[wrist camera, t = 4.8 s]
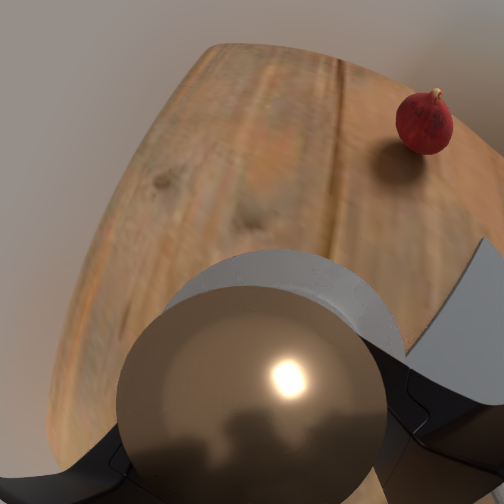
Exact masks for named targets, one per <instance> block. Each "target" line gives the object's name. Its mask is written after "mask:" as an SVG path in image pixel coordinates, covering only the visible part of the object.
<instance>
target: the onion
mask: <svg viewBox="0 0 504 504" xmlns="http://www.w3.org/2000/svg"><path fill="white" fill-rule="evenodd" d="M442 95H443V93H442V92H441V91H440V89H439V88H436V89H432V91H431V92H430V93H417V94H413V95H410V96H409V97H407V98H406V99H405V100H404V101H403V102H402V103H401V105H400V106H399V108H398V110H397V113H396V128H397V131H398V134H399V137H400V138H401V140H402V141H403V142H404V144H405V145H406V146H407V147H408V148H409V149H411V150H412V151H414V152H416V153H419V154H423V155H432V154H436V153H438V152H440V151H441V150H443V149H444V148H445V147H446V146H447V145H448V143H449V141H450V139H451V136H452V133H453V121H452V117H451V114H450V111H449V109H448V107H447V106H446V104H445V103H444V101H443V100H442V98H441V96H442Z"/></svg>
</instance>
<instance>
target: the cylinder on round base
mask: <svg viewBox="0 0 504 504" xmlns="http://www.w3.org/2000/svg"><path fill="white" fill-rule="evenodd" d="M356 333H357V334H358V335H360V336H361V337H363V338H365V339H366V340H368V341H369V342H371V343H372V344H374V345H376V346H377V347H379V348H380V349H382V350H383V351H385V352H386V353H388V354H390V355H391V356H393V357H394V358H396V359H397V360H399V361H401V362H402V363H404V364H405V365H406V357H405V351H404V345H403V342H402V338H401V335H400V332H399V329H398V327H397V325H396V322H395V320H394V318H393V316H392V314H391V312H390V311H389V309H388V308H387V306H386V305H385V303H384V302H383V300H382V299H381V298H380V297H379V296H378V294H377V293H376V292H375V291H374V290H373V289H372V288H371V287H370V286H369V285H368V284H367V283H366V282H365V281H363V280H362V279H361V278H360V277H359V276H357V275H356V274H354V273H353V272H351V271H350V270H348V269H347V268H345V267H344V266H342V265H340V264H338V263H335V262H333V261H331V260H329V259H326V258H323V257H320V256H318V255H315V254H311V253H306V252H301V251H295V250H282V249H276V250H260V251H255V252H249V253H244V254H241V255H238V256H234V257H231V258H228V259H226V260H224V261H221V262H219V263H217V264H215V265H213V266H211V267H209V268H208V269H206V270H204V271H203V272H201V273H200V274H198V275H197V276H196V277H194V278H193V279H192V280H190V281H189V282H188V283H187V284H186V285H185V286H184V287H183V288H182V289H181V290H180V291H179V292H178V293H177V294H176V295H175V296H174V297H173V299H172V300H171V301H170V302H169V304H168V305H167V306H166V308H165V309H164V311H163V313H162V314H161V315H160V316H158V317H157V318H156V319H155V320H154V321H153V322H152V323H151V324H150V325H149V326H148V327H147V328H146V329H145V330H144V331H143V332H142V334H141V335H140V336H139V338H138V339H137V340H136V342H135V343H134V345H133V346H132V348H131V350H130V352H129V354H128V355H127V357H126V360H125V362H124V365H123V368H122V370H121V374H120V378H119V382H118V387H117V396H116V414H117V422H118V428H119V432H120V436H121V439H122V442H123V445H124V448H125V450H126V452H127V455H128V457H129V459H130V461H131V462H132V464H133V466H134V467H135V469H136V471H137V472H138V474H139V475H140V476H141V478H142V479H143V480H144V481H145V483H146V484H147V485H148V486H149V487H150V488H151V489H152V490H153V491H154V492H155V493H156V494H157V495H158V496H159V497H160V498H161V499H163V500H164V501H165V502H167V503H168V504H340V503H342V502H343V501H344V500H345V499H347V498H348V497H349V496H350V495H351V494H352V493H353V492H354V491H355V490H356V489H357V488H358V487H359V486H360V484H361V483H362V482H363V480H364V479H365V478H366V476H367V475H368V473H369V472H370V470H371V468H372V467H373V465H374V463H375V461H376V459H377V457H378V454H379V452H380V449H381V446H382V443H383V440H384V435H385V430H386V424H387V401H386V393H385V388H384V384H383V380H382V377H381V373H380V371H379V369H378V367H377V364H376V362H375V360H374V358H373V356H372V354H371V353H370V351H369V350H368V348H367V347H366V345H365V343H364V342H363V341H362V340H361V338H360V337H359V336H358V335H357V334H356Z"/></svg>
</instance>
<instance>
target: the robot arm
mask: <svg viewBox="0 0 504 504" xmlns="http://www.w3.org/2000/svg"><path fill="white" fill-rule="evenodd" d="M356 334H357V333H356ZM357 335H358V334H357ZM358 336H359V337H360V338H361V340H362V341H363V342H364V343H365V345H366V347H367V348H368V350H369V351H370V353H371V354H372V356H373V358H374V360H375V362H376V364H377V367H378V369H379V371H380V373H381V377H382V380H383V384H384V388H385V393H386V401H387V424H386V430H385V435H384V440H383V443H382V446H381V449H380V452H379V454H378V457H377V459H376V461H375V463H374V465H373V467H374V469H375V472H376V474H377V477H378V479H379V482H380V484H381V486H382V489H383V492H384V494H385V497H386V499H387V502H388V504H504V404H502V405H488V404H483V403H480V402H477V401H475V400H472V399H470V398H468V397H466V396H463V395H461V394H459V393H457V392H454V391H452V390H450V389H448V388H446V387H444V386H442V385H440V384H438V383H436V382H434V381H432V380H430V379H428V378H427V377H425V376H423V375H422V374H420V373H418V372H417V371H415V370H413V369H410V367H409V366H407V365H405V364H404V363H402V362H401V361H399V360H397V359H396V358H394V357H393V356H391V355H390V354H388V353H386V352H385V351H383V350H382V349H380V348H379V347H377V346H376V345H374V344H372V343H371V342H369V341H368V340H366V339H365V338H363V337H361V336H360V335H358ZM0 499H1V500H2V501H4V502H5V503H7V504H168V503H167V502H165V501H164V500H163V499H161V498H160V497H159V496H158V495H157V494H156V493H155V492H154V491H153V490H152V489H151V488H150V487H149V486H148V485H147V484H146V483H145V481H144V480H143V479H142V478H141V476H140V475H139V474H138V472H137V471H136V469H135V467H134V466H133V464H132V462H131V461H130V459H129V457H128V455H127V452H126V450H125V448H124V445H123V442H122V439H121V436H120V432H119V428H118V422H117V423H116V425H115V426H114V427H113V428H112V429H111V430H110V431H109V432H108V433H107V434H106V435H105V436H104V437H103V438H102V439H101V440H100V441H99V442H98V443H97V444H96V445H95V446H94V447H93V448H92V449H91V450H90V451H89V452H87V453H86V454H85V455H84V456H83V457H82V458H81V459H80V460H78V461H77V462H76V463H75V464H74V465H73V466H72V467H70V468H69V469H67V470H66V471H64V472H61V473H58V474H52V475H45V476H36V477H24V478H2V477H0Z"/></svg>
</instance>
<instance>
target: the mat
mask: <svg viewBox="0 0 504 504" xmlns="http://www.w3.org/2000/svg"><path fill="white" fill-rule="evenodd" d="M405 357H406V365H407V366H409V367H410V369H413V370H415V371H417V372H418V373H420V374H422V375H423V376H425V377H427V378H428V379H430V380H432V381H434V382H436V383H438V384H440V385H442V386H444V387H446V388H448V389H450V390H452V391H454V392H457V393H459V394H461V395H463V396H466V397H468V398H470V399H472V400H475V401H477V402H480V403H483V404H488V405H502V404H504V258H503V257H502V256H501V255H500V253H499V252H498V251H497V250H496V249H495V247H494V246H493V245H492V244H491V243H490V242H489V240H488V239H487V238H486V237H485V236H484V237H483V238H482V239H481V241H480V243H479V245H478V247H477V249H476V251H475V253H474V254H473V256H472V258H471V260H470V262H469V264H468V265H467V267H466V269H465V271H464V272H463V274H462V276H461V277H460V279H459V281H458V282H457V284H456V285H455V287H454V289H453V290H452V292H451V293H450V295H449V296H448V298H447V300H446V301H445V303H444V304H443V306H442V307H441V308H440V310H439V311H438V313H437V314H436V316H435V317H434V318H433V320H432V321H431V323H430V324H429V325H428V327H427V328H426V329H425V331H424V332H423V333H422V335H421V336H420V337H419V339H418V340H417V341H416V342H415V344H414V345H413V346H412V347H411V349H410V350H409V351H408V352H407V353H406V355H405Z"/></svg>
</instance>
